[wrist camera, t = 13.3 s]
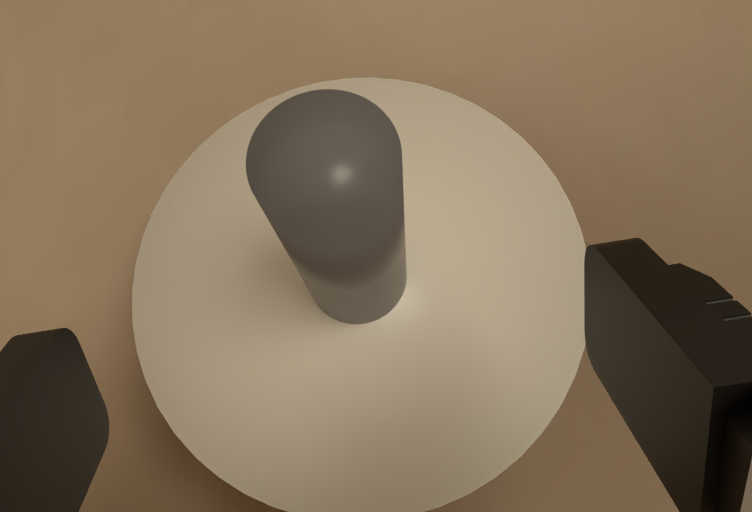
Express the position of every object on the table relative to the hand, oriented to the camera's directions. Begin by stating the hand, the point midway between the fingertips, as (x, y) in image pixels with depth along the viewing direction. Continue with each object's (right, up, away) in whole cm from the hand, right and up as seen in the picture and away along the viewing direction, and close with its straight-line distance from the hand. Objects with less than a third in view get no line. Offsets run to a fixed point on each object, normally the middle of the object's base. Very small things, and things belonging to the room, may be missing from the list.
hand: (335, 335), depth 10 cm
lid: (0, 0, +11) cm, 11 cm away
